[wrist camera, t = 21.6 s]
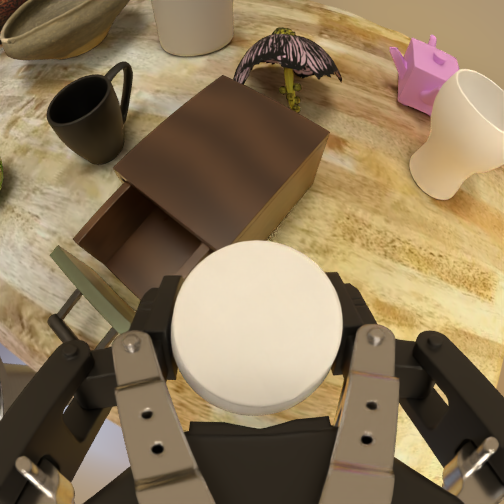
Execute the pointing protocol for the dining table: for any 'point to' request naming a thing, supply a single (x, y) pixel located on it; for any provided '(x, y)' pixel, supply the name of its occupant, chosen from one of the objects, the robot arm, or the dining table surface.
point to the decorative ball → (1, 173)
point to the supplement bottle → (256, 327)
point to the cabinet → (227, 163)
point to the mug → (92, 115)
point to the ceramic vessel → (8, 11)
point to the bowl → (58, 28)
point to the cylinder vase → (193, 25)
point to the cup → (461, 134)
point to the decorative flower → (288, 61)
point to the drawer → (125, 258)
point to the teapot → (422, 73)
